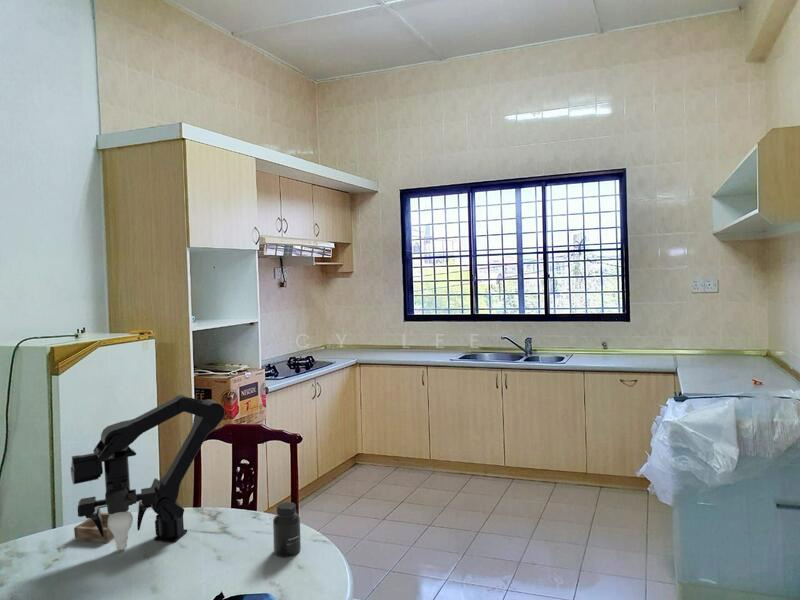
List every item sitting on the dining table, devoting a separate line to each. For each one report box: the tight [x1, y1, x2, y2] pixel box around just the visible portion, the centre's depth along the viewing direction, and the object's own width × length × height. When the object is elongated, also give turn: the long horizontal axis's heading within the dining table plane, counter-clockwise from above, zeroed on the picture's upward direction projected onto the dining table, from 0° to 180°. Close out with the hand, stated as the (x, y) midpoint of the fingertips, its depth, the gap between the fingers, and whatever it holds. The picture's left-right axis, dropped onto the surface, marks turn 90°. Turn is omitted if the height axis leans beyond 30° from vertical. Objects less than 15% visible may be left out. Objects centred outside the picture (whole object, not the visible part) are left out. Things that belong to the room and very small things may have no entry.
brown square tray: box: [73, 512, 115, 544], centre depth 172 cm, size 10×10×4 cm
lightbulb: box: [107, 509, 134, 551], centre depth 162 cm, size 6×6×11 cm
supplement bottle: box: [272, 501, 302, 557], centre depth 159 cm, size 7×7×12 cm
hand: (120, 533), depth 162 cm, fingers open, 8 cm apart
